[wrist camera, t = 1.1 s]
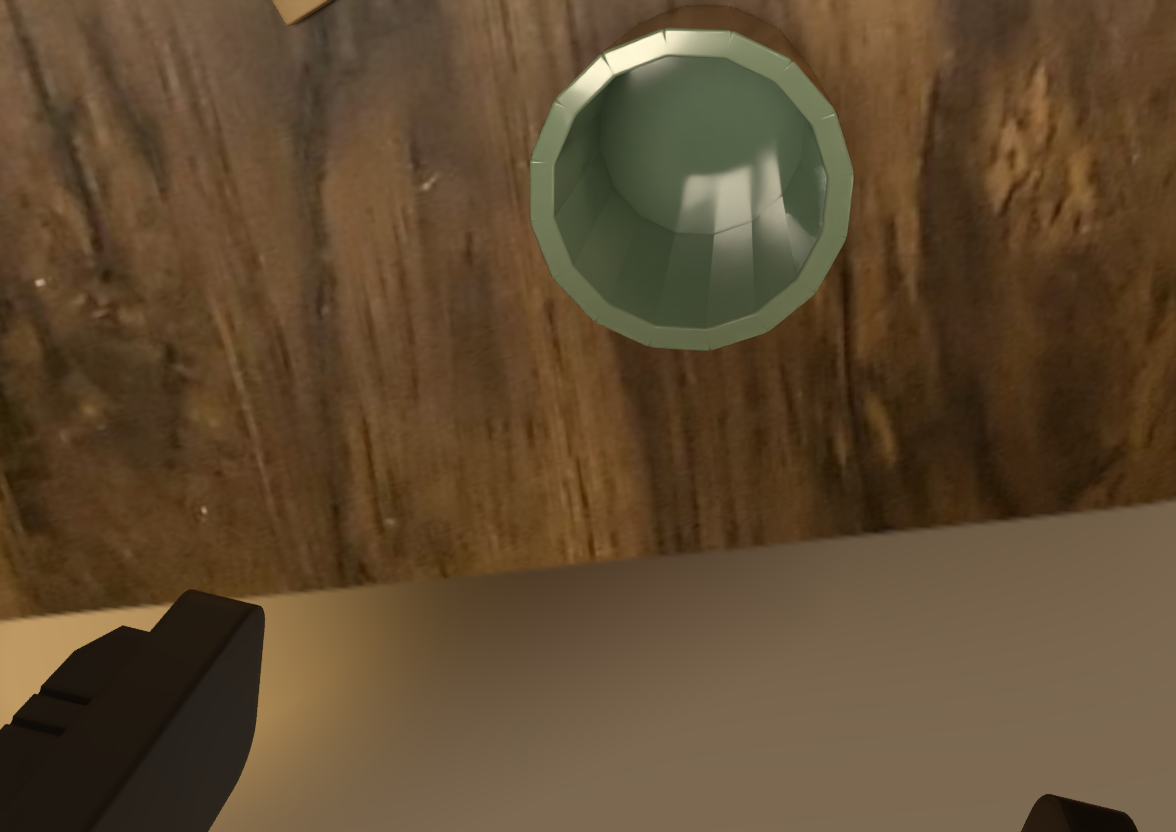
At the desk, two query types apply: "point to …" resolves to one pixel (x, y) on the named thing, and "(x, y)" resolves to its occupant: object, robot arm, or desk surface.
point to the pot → (692, 181)
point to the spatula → (298, 9)
